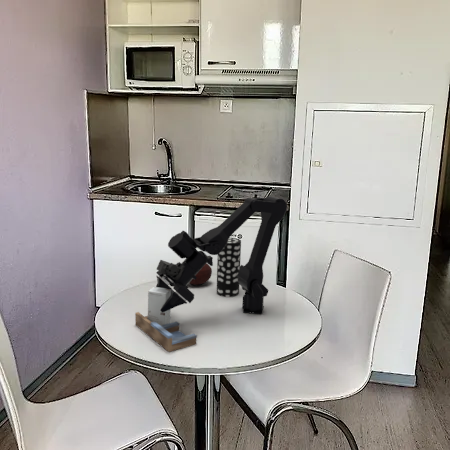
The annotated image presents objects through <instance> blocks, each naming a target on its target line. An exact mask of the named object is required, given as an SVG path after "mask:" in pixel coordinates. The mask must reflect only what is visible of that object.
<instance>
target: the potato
mask: <svg viewBox="0 0 450 450" xmlns="http://www.w3.org/2000/svg"><path fill="white" fill-rule="evenodd" d="M212 273H213V270H212V266H210V265H209V264H207V263H206V264H205V265H204V266H203V267H202V269H201V270H200V271H199V272H198V273H197V274H196V275H195V276H196V277H197V278H196V279H195V280H194V279H192V280H191V281H190V282H189V283H188V284H190V285H193V286H194V285H195V286H196V285H197V286H198V285H203V284H206V283H207V282H208V281H209V280H210V279H211V277H212Z"/></svg>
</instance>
